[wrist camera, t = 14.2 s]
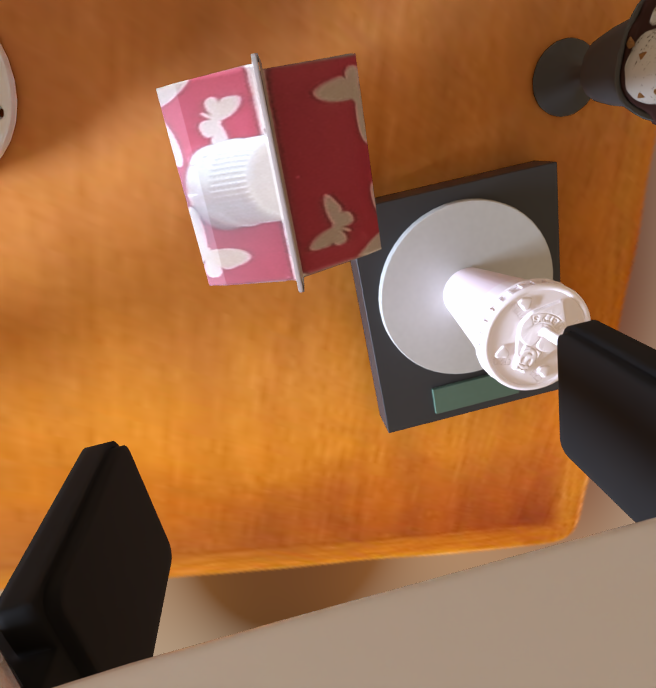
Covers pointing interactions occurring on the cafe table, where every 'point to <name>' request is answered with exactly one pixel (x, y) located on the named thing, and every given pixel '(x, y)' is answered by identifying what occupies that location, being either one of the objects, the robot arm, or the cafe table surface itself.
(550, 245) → the scale
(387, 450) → the cafe table surface
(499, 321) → the smoothie
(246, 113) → the juice carton
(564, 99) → the sundae
